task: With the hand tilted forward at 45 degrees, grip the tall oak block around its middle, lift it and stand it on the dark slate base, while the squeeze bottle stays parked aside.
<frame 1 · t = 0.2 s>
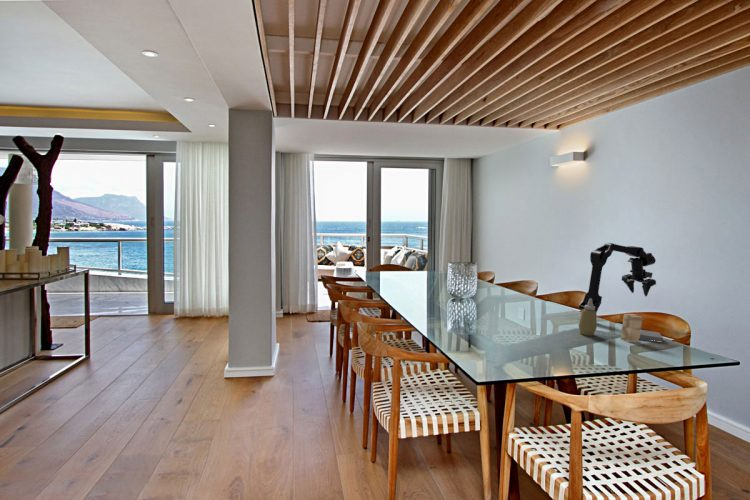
hand: (639, 294, 259), 15 cm above the table, tool pointing down, fingers open, 9 cm apart
oak block: (629, 340, 217), on the table
slate base: (647, 338, 224), on the table
squeeze bottle: (586, 334, 224), on the table
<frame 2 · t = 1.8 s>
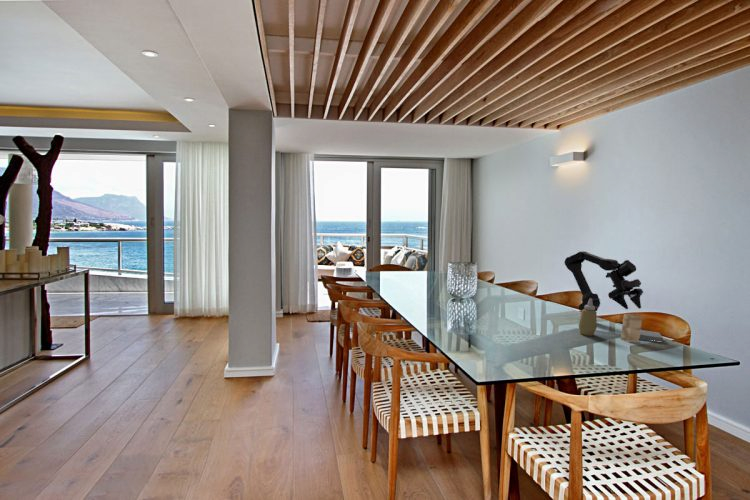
hand: (633, 308, 224), 14 cm above the table, tool tilted 40°, fingers open, 9 cm apart
nothing on the table moved.
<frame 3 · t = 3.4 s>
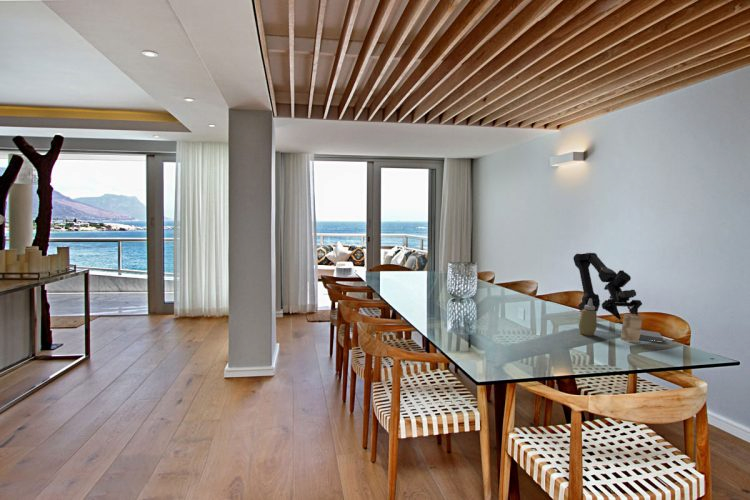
hand: (628, 319, 218), 10 cm above the table, tool tilted 45°, fingers open, 9 cm apart
nothing on the table moved.
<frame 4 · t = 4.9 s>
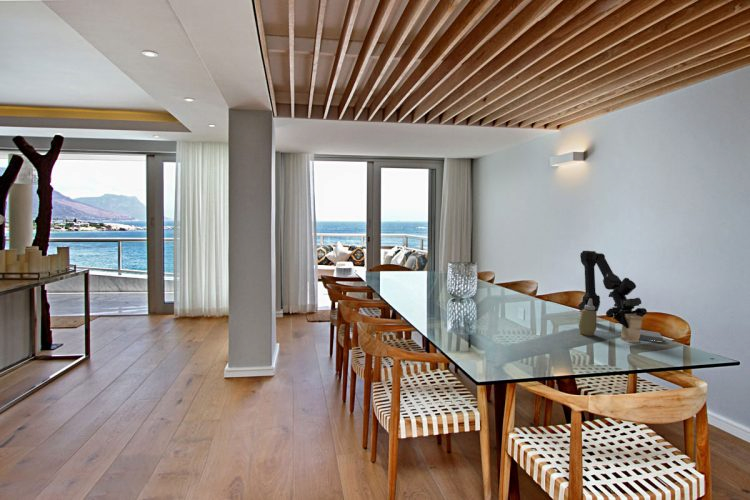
hand: (633, 328, 215), 7 cm above the table, tool tilted 45°, fingers closed on oak block, 5 cm apart
oak block: (629, 340, 217), on the table, touching gripper
everything else where it was.
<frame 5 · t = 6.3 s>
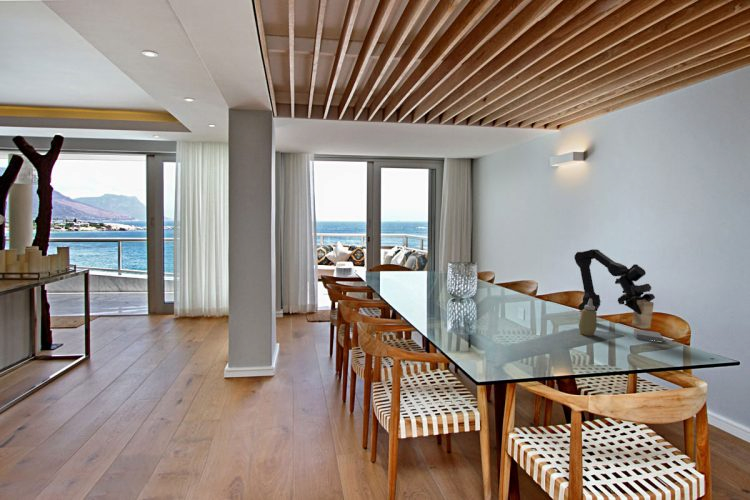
hand: (645, 314, 217), 13 cm above the table, tool tilted 45°, fingers closed on oak block, 5 cm apart
oak block: (640, 326, 219), point 7 cm above the table, touching gripper
everything else where it was.
when the fingers open (10 cm above the table, at t = 7.8 s): oak block drops 1 cm, resting on slate base.
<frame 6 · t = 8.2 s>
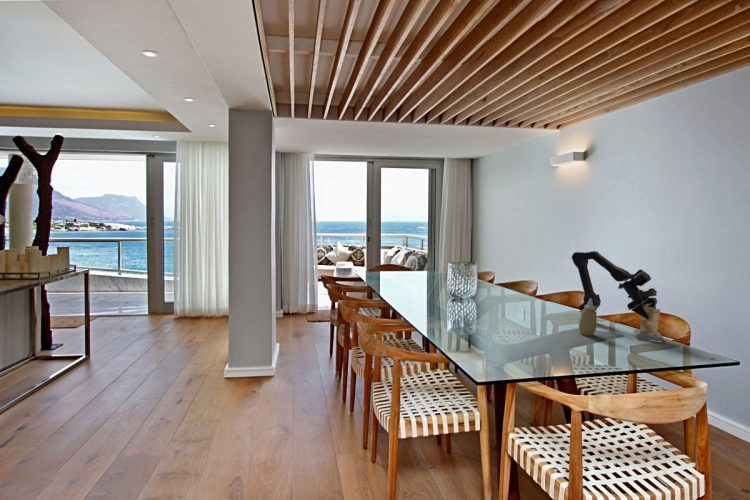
hand: (653, 318, 221), 11 cm above the table, tool tilted 45°, fingers open, 9 cm apart
oak block: (648, 333, 223), point 2 cm above the table, touching slate base
everything else where it was.
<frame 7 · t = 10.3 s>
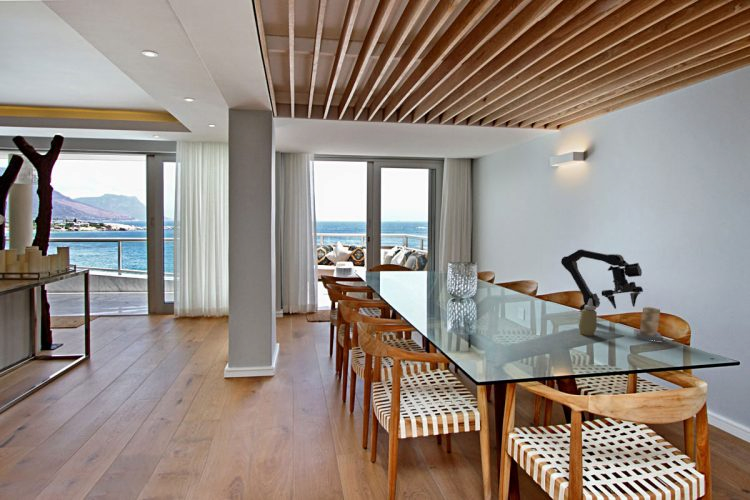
hand: (624, 307, 237), 12 cm above the table, tool tilted 15°, fingers open, 9 cm apart
nothing on the table moved.
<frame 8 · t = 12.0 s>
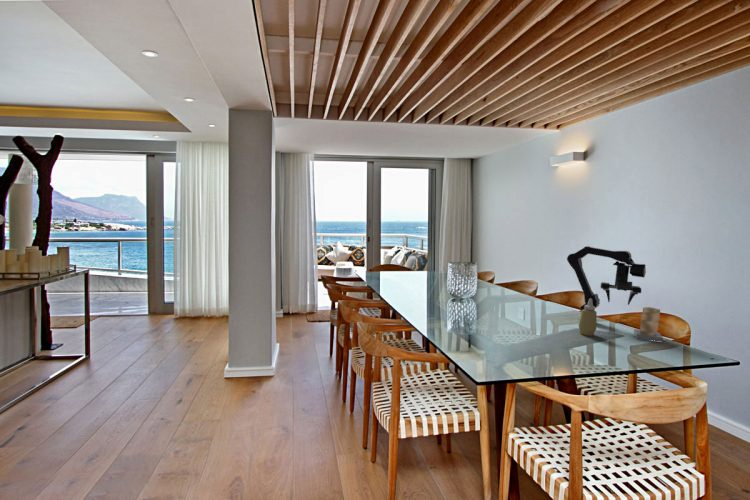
hand: (618, 303, 240), 13 cm above the table, tool pointing down, fingers open, 9 cm apart
nothing on the table moved.
at the end: oak block inside the target area on the slate base (0.0 cm from its centre), point 2.5 cm above the slate base's base; oak block tilted 0°; the gripper is holding nothing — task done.
